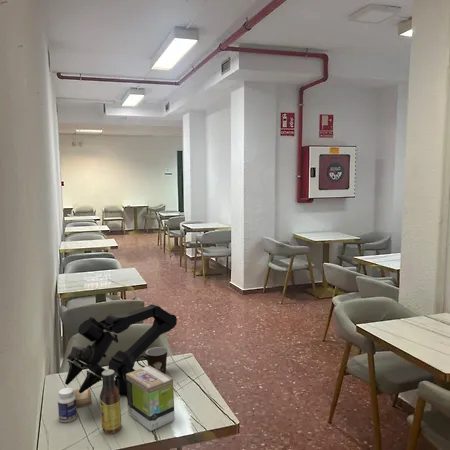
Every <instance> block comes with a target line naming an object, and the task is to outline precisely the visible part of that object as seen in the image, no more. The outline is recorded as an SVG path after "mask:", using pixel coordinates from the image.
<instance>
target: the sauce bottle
mask: <svg viewBox="0 0 450 450" xmlns="http://www.w3.org/2000/svg"><path fill="white" fill-rule="evenodd" d="M115 377H116V376H115V371H114V370H111V369H109V368H108V369H105V371H103V372H102V378H101V379H102V385H101V386H102V387H101V391H100V393H99V407H100V421H101V428H102V431H103V433H105V434H109V435H110V434H116V433H118V432H119V431H120V430H121V428H122V408H121V397H120V395H119V389H118V388H117V386H116V385H115Z"/></svg>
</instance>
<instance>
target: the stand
mask: <svg viewBox="0 0 450 450" xmlns="http://www.w3.org/2000/svg"><path fill="white" fill-rule="evenodd" d="M73 390H74V393H73V394H74V395H75V397H76V409H78V408H83V407H86V406H87V407H88V406H92V405H93V399H92V390H91V388H88V389H87V390H85V391H84V392H82V393H79V390H80V388H77V389H73Z"/></svg>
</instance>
